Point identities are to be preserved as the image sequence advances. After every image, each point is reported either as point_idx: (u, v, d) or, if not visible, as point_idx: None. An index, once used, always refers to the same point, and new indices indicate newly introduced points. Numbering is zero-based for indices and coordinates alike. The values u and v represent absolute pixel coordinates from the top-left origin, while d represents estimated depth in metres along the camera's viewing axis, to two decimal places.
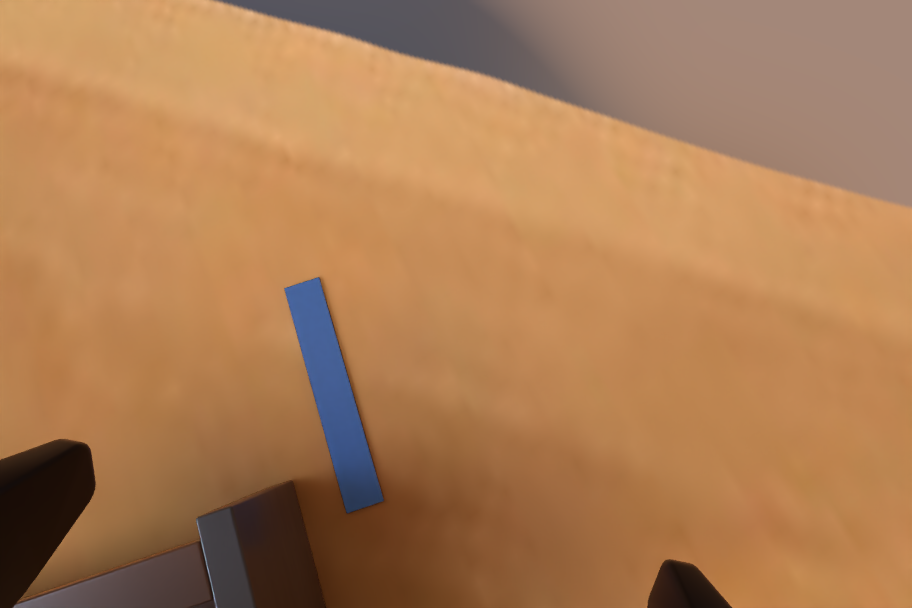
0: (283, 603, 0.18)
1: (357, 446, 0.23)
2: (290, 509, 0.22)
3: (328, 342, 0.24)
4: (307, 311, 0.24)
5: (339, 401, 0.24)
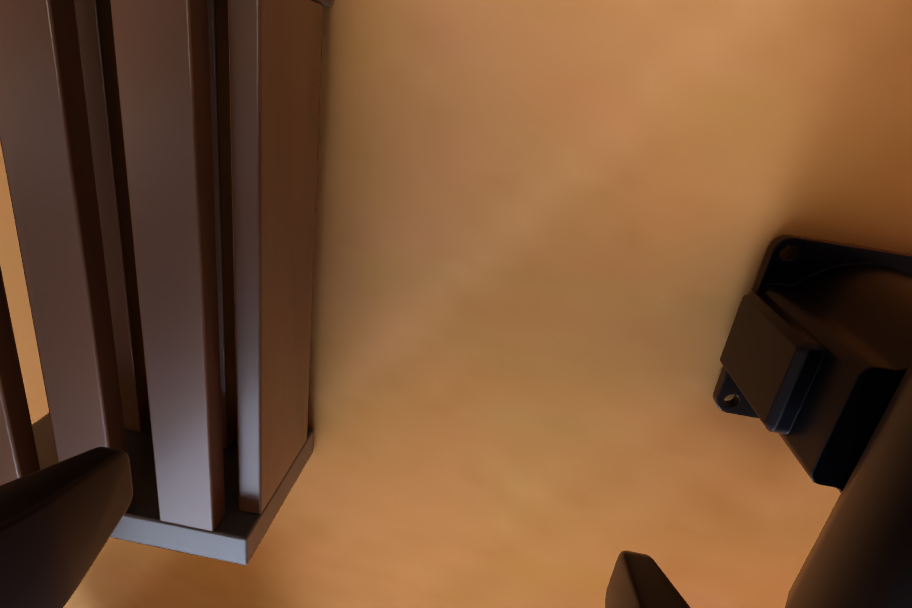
0: None
1: None
2: None
3: None
4: None
5: None
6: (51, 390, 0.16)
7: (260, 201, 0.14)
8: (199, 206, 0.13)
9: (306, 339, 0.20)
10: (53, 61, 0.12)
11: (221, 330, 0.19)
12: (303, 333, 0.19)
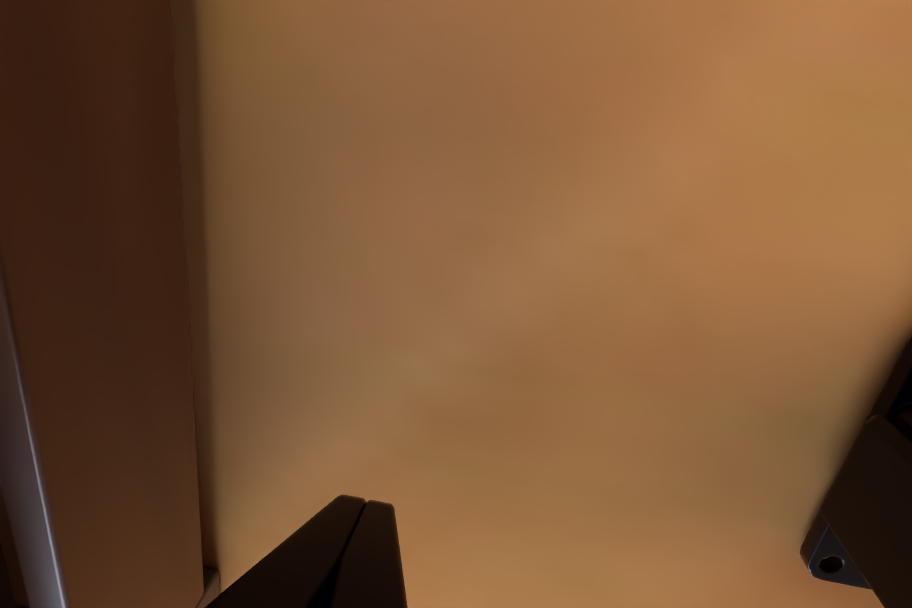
0: None
1: None
2: None
3: None
4: None
5: None
6: None
7: (9, 302, 0.07)
8: None
9: (186, 467, 0.13)
10: None
11: None
12: (176, 464, 0.13)
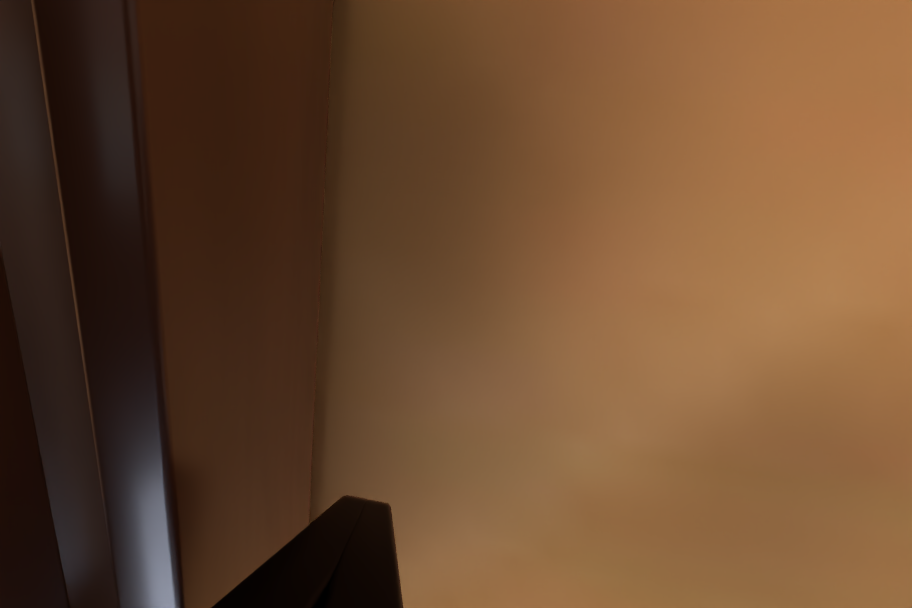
0: None
1: None
2: None
3: None
4: None
5: None
6: None
7: (169, 450, 0.05)
8: None
9: None
10: None
11: None
12: None
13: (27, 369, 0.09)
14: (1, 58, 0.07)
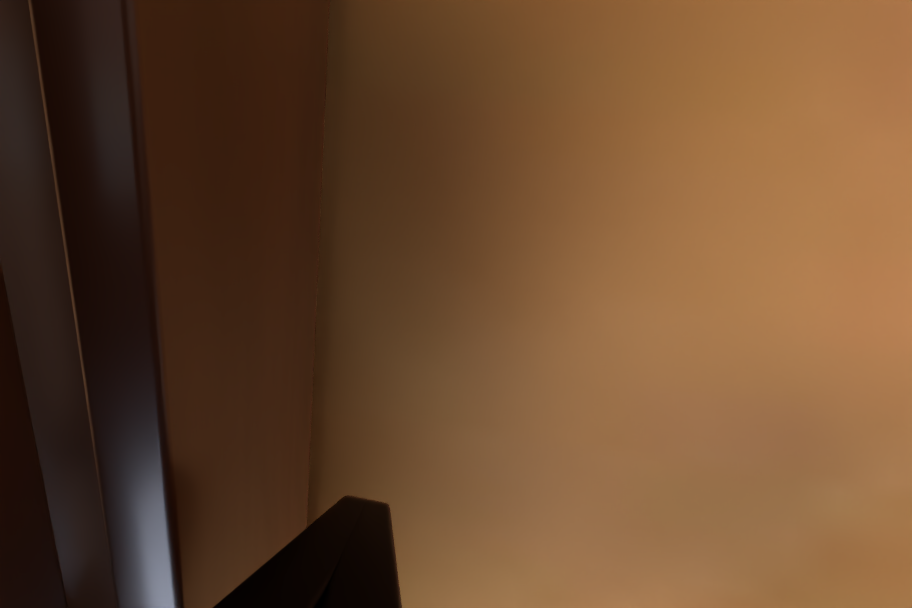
0: None
1: None
2: None
3: None
4: None
5: None
6: None
7: (168, 450, 0.05)
8: None
9: None
10: None
11: None
12: None
13: (23, 370, 0.09)
14: None
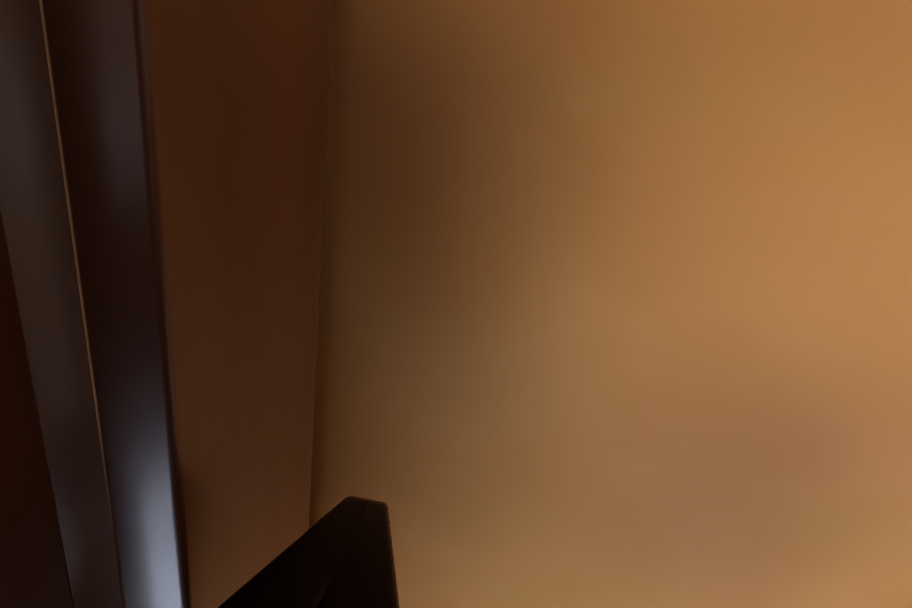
0: None
1: None
2: None
3: None
4: None
5: None
6: None
7: (176, 451, 0.05)
8: None
9: None
10: None
11: None
12: None
13: None
14: None
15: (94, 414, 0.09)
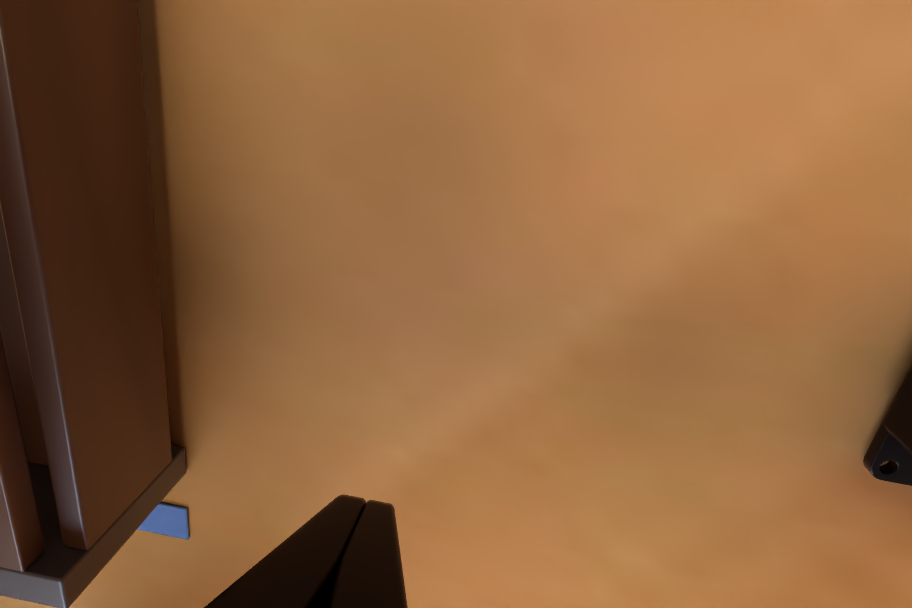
0: None
1: None
2: None
3: None
4: None
5: None
6: None
7: (29, 192, 0.12)
8: None
9: (154, 349, 0.18)
10: None
11: None
12: (146, 344, 0.17)
13: None
14: None
15: None
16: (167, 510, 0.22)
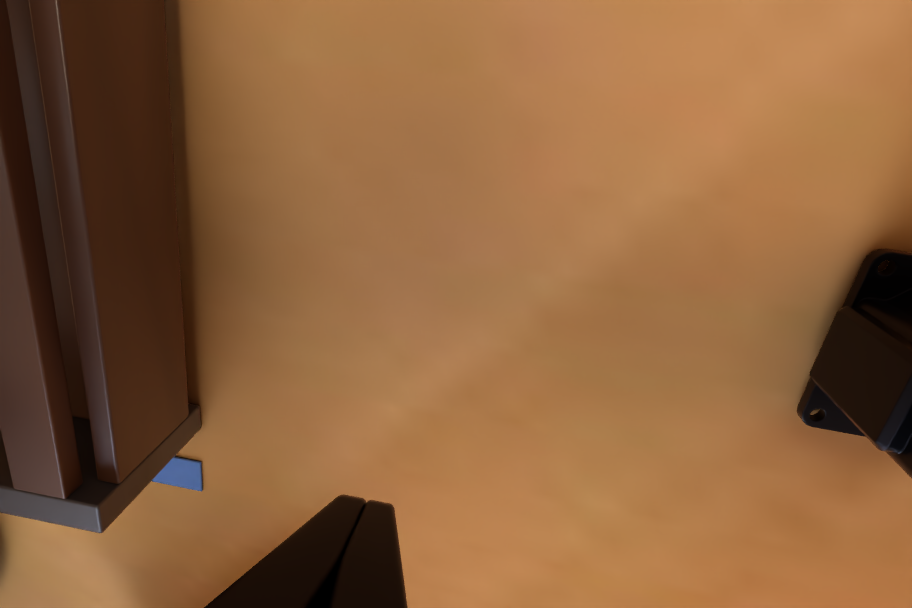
0: None
1: None
2: None
3: None
4: None
5: None
6: None
7: (79, 168, 0.14)
8: (8, 171, 0.14)
9: (175, 313, 0.20)
10: None
11: None
12: (168, 307, 0.19)
13: None
14: (16, 28, 0.16)
15: None
16: (183, 463, 0.24)
